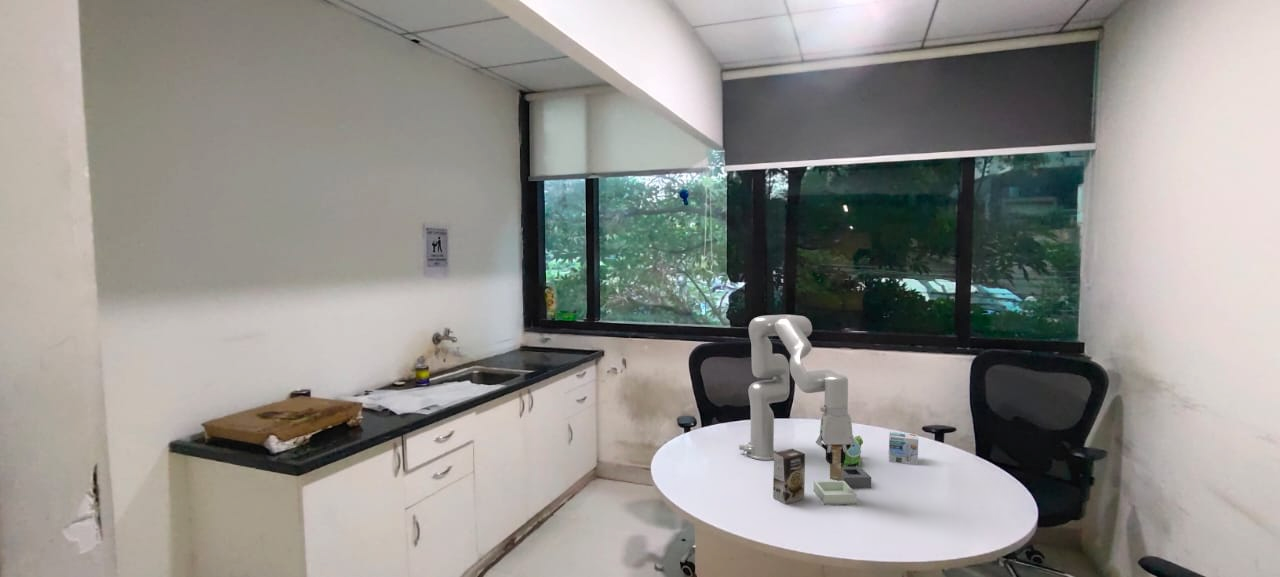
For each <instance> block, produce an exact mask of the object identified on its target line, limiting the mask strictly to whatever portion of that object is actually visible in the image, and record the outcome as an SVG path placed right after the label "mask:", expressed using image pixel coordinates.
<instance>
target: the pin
mask: <svg viewBox="0 0 1280 577" xmlns="http://www.w3.org/2000/svg"><path fill="white" fill-rule="evenodd" d="M841 449H842V445H832V446H831V453H832V464H829V479H830V480H831V481H837V480H841V467H842V464H841Z"/></svg>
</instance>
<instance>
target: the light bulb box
mask: <svg viewBox="0 0 1280 577" xmlns="http://www.w3.org/2000/svg"><path fill="white" fill-rule="evenodd" d="M888 441H889V442H888V462H889V463H897V464H902V465H903V464H905V465H911V466H918V462H919V460H918V459H919V456H918V455H919V436H918V434H915V433H906V432H898V431H897V432H895V431H889V439H888Z"/></svg>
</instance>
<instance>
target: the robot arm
mask: <svg viewBox="0 0 1280 577" xmlns="http://www.w3.org/2000/svg"><path fill="white" fill-rule="evenodd" d="M812 332H813V326H812V322H811V320H810V319H809V318H807V317H806V316H804V315H797V314H770V315H768V314H767V315H760V316H757V317H754V318H753V319H751V321H750V322H749V325H748V335H749V336H748V337H749V339H750V343H751V348H750V349H751V353H750V354H751V372H752V375H753V376H754V377H755V378H758V379H765V380H758V381H754V382H753V383H751V384H750V385H749V386H748V391H747V392H748V398H749V405H750V441H749V442H748V443H747V444H746V445H745V444H739V446H738V447H739V448H738V450H740V451H741V450H742V451H743V452H746V455H747V456H748V458H751V459H753V460H757V461H758V460H759V461H771V460H774V453H775V452H777V450H775V449H774V446H775V444H774V440H775V438H774V437H775V436H774V435H775V433H774V432H775V419H774V418H775V415H774V411H773V410H772V408H771V407H770V406H771V405H770V404H773V403H781V402H785V401H787V399H788V398H789V395H790V386H791V385H790V382H791V381H790V376H791V377H792V379H793V381H794V382H795V384H796V386H797V387H798V389H799V390H801V391H802V392H804V393H806V394H813V393H815V394H816V393H821V392H822V393H823V392H824V404H823V407H820V412H823V413H822V416H821V421H820V426H819V436H818V438H817V439H816V440H815V444H816V445H817V446H819V447H821V448H823V450H825V461H826V462H827V463H828V464H829V465H830V464H832V453H831V446H832V445H842V449H841V463H842V464H841V465H843V464H844V461H845V453H846V452H847V450H848V449H849V448H850V447H851V446H852V445H854V444H855V443H856V442H855V440H854V439H853V436H854V433H853V426H852V419H851V415H850V414H849V413H848V412H849V411H848V408H849V407H848V405H849V404H848V403H849V401H848V400H849V399H848V398H849V396H848V395H849V380H848V377H847V376H845V375H843V374H838V373H836V372H834V371H832V370H830V369H821V370H811V371H810V370H809V371H808V370H807V369H806V367H805V366H804V365H803V362H802V359H804V358H805V357H807V356H808V355H809V354H810V353H811V351H812V349H813V347H812V343H811V342H810V341H809V339H808V337H809V336H810V335H811V334H812ZM769 337H779V339H780V340H781V342H782V344H783V345H784V346H785V348H786V350H787V351H788V353H789V355H790V358H789V360H788V359H787V357H786V355H784V354H781V353H773V344H772V342H771V340H770V338H769ZM767 378H772V379H767Z"/></svg>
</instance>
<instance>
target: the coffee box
mask: <svg viewBox="0 0 1280 577" xmlns="http://www.w3.org/2000/svg"><path fill="white" fill-rule="evenodd" d="M805 471H806V454H805V453H804V452H802V451H800V450H796V449H794V448H790V449H785V450H781V451H776V452H775V453H774V459H773V481H772V482H773V484H772V485H773V486H772V498H773V499H776V500H778V501H779V502H781V503H783V504H784V505H786V504H789V503H793V501H794V502H797V501H799V500H804V499H805V480H806V479H805V476H806V475H805V474H806V473H805Z"/></svg>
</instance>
